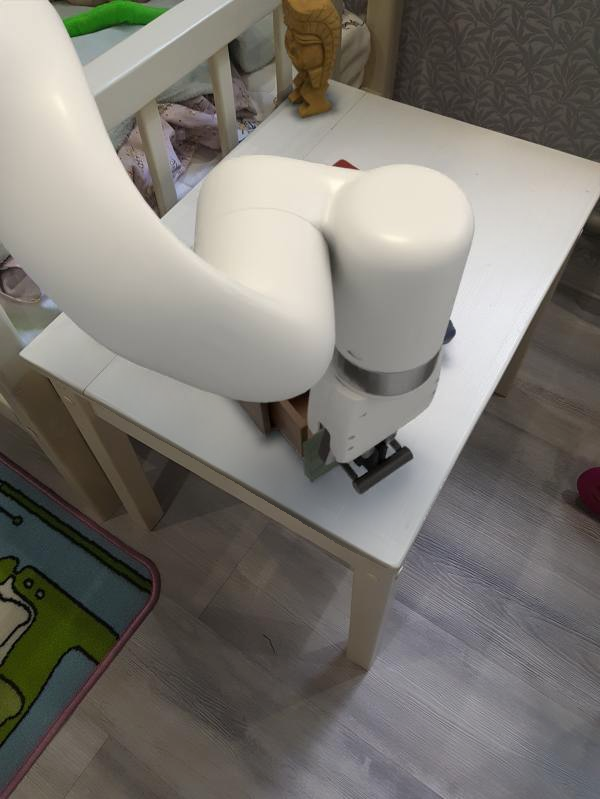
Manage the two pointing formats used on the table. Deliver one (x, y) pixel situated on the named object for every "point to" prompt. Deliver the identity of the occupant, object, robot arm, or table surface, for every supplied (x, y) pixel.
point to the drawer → (295, 429)
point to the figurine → (311, 51)
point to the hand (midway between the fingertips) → (366, 457)
